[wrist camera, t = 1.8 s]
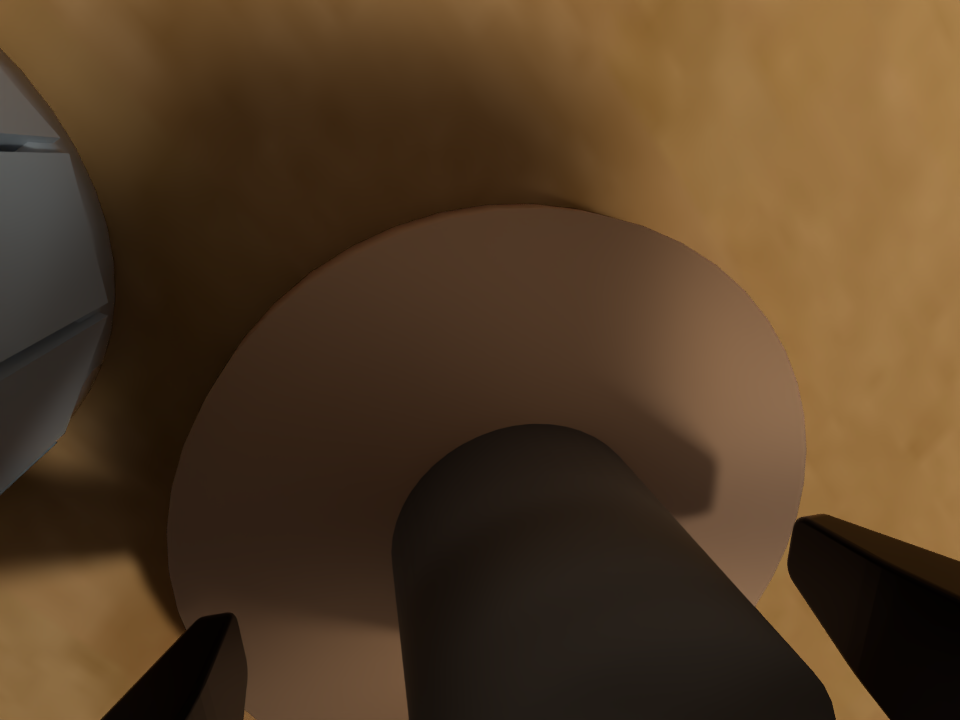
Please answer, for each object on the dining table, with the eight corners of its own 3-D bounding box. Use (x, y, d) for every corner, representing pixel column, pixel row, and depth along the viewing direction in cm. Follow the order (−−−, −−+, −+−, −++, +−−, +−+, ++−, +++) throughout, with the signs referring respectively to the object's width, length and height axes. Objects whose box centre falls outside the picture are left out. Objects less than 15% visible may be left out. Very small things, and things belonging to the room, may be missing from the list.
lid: (741, 656, 12) (972, 950, 8) (261, 780, 11) (197, 1251, 6) (796, 173, 9) (1270, 193, 4) (97, 242, 7) (-348, 395, 3)
